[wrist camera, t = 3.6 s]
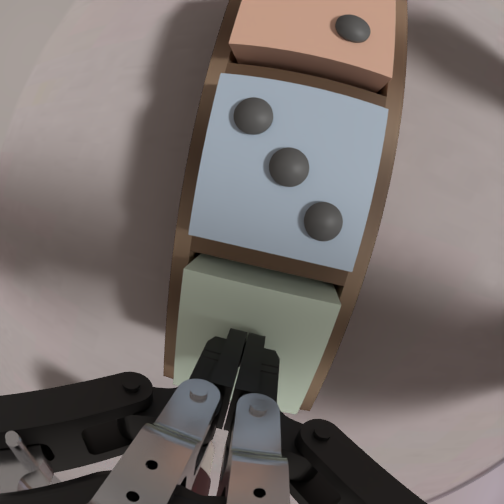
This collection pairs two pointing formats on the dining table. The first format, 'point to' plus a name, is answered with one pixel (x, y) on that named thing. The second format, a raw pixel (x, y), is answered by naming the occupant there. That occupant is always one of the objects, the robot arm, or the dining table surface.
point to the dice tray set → (342, 280)
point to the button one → (256, 319)
